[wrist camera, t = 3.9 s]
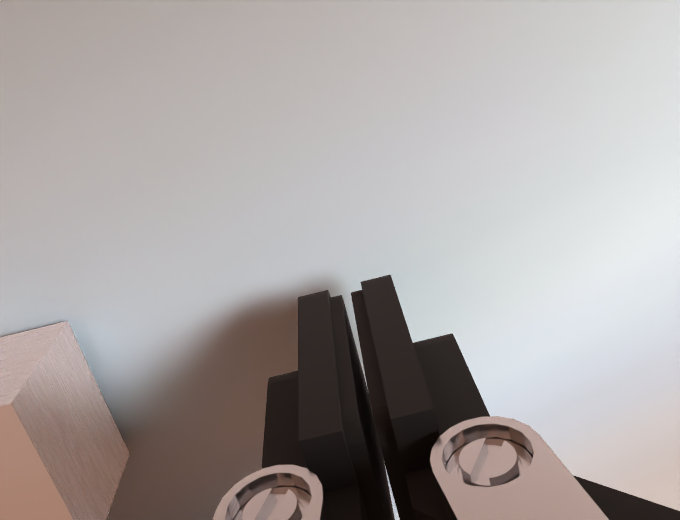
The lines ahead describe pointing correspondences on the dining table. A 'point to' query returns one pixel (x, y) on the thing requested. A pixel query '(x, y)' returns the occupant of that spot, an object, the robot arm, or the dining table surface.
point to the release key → (54, 431)
